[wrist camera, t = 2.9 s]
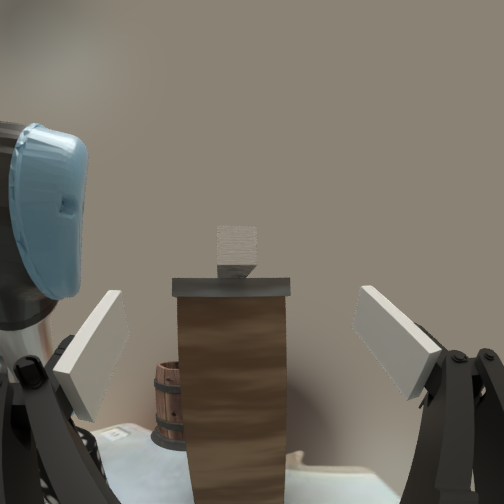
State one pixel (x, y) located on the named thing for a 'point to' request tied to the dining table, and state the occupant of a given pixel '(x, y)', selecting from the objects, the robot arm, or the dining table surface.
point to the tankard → (168, 408)
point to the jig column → (233, 386)
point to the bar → (236, 251)
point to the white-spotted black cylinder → (93, 450)
